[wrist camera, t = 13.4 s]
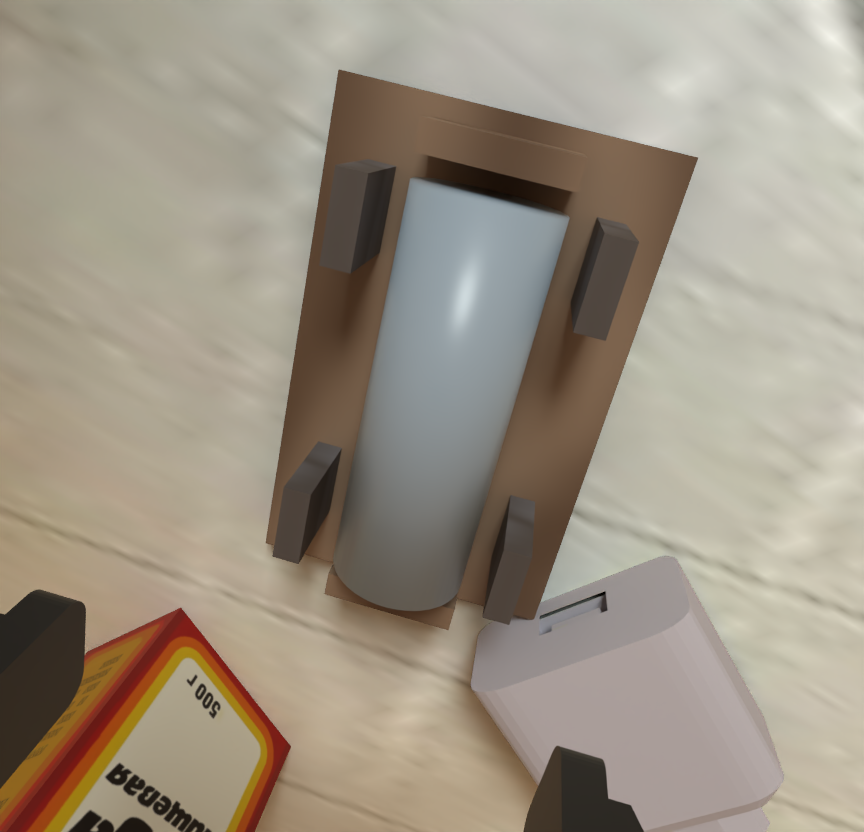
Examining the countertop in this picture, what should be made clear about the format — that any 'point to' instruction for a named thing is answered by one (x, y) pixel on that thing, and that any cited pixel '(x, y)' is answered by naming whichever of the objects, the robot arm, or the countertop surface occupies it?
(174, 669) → the baking soda box
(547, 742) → the charger
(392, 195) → the walnut holder
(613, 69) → the countertop surface
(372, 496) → the cylinder
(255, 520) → the countertop surface
